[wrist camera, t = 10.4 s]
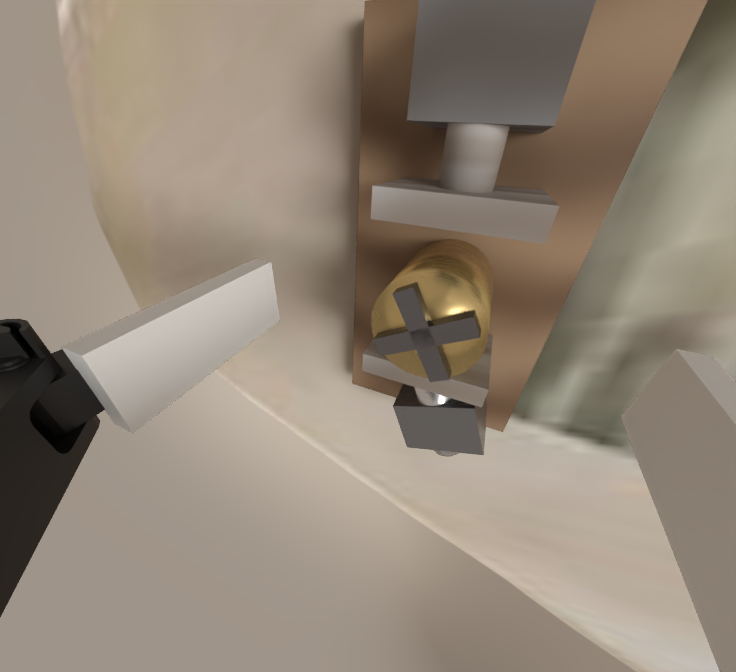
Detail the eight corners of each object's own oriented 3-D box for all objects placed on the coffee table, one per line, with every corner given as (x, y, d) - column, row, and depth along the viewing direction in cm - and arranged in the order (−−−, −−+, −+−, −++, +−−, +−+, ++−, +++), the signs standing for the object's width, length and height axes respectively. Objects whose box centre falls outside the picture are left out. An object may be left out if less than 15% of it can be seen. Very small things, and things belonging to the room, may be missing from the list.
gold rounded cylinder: (394, 256, 18) (347, 300, 12) (479, 224, 15) (465, 262, 10) (422, 327, 19) (392, 391, 14) (503, 309, 17) (502, 379, 12)
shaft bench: (377, 14, 14) (295, -74, 8) (696, -9, 10) (900, -182, 5) (359, 372, 26) (321, 429, 20) (503, 417, 22) (501, 498, 17)
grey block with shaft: (403, 341, 20) (383, 377, 17) (474, 335, 18) (468, 375, 15) (423, 410, 23) (409, 453, 20) (488, 412, 21) (484, 462, 17)
